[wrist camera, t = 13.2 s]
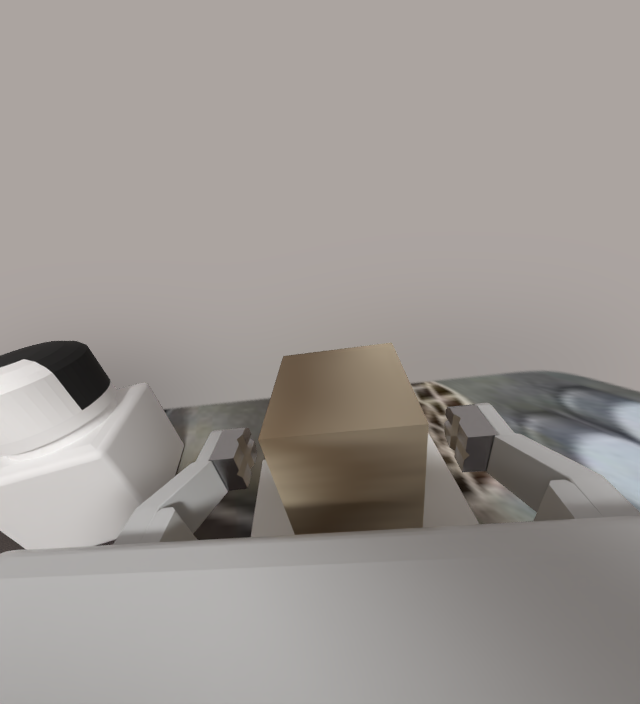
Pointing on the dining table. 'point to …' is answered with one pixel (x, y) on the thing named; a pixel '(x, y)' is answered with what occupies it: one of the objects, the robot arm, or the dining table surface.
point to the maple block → (346, 441)
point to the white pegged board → (439, 501)
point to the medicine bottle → (76, 448)
